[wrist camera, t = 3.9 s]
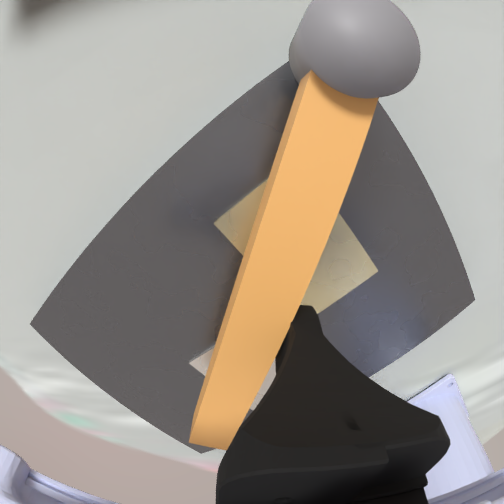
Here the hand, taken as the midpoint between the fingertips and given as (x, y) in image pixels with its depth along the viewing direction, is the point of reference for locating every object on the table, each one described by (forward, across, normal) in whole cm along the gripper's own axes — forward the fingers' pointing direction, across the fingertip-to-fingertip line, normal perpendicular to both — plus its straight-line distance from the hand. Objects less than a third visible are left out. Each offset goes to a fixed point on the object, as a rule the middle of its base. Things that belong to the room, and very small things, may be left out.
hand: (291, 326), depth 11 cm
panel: (+3, +2, +2) cm, 4 cm away
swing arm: (+1, +1, -2) cm, 3 cm away
